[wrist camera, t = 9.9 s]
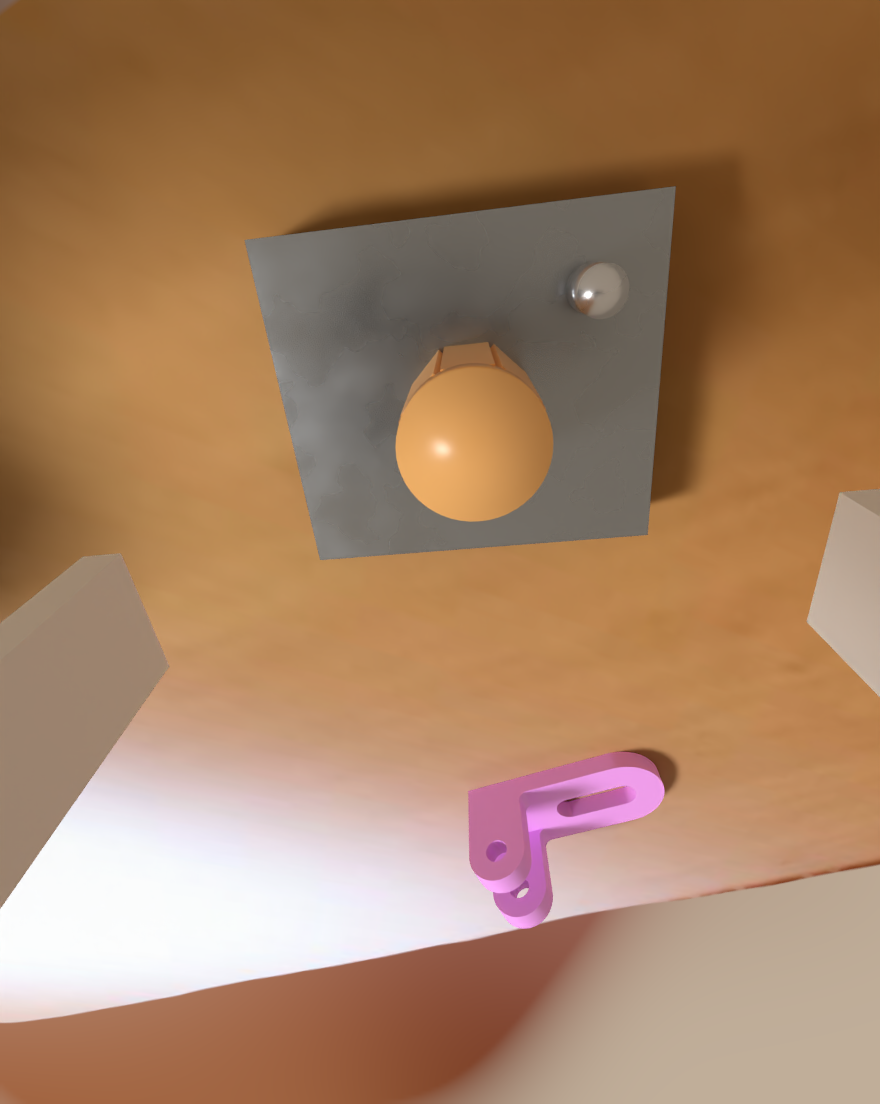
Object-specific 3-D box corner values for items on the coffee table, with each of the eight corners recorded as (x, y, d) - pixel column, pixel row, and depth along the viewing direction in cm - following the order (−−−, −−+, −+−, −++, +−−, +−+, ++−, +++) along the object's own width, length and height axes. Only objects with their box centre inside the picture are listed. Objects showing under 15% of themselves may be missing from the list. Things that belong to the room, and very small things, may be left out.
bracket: (496, 835, 42) (502, 933, 36) (468, 789, 40) (469, 886, 34) (666, 793, 39) (704, 892, 33) (646, 741, 37) (683, 837, 31)
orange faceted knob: (418, 468, 25) (406, 527, 20) (402, 348, 23) (384, 377, 17) (533, 458, 25) (554, 515, 19) (530, 335, 22) (552, 359, 17)
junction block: (332, 533, 30) (299, 604, 24) (268, 242, 24) (201, 236, 17) (630, 509, 29) (676, 577, 23) (650, 194, 22) (722, 170, 16)
